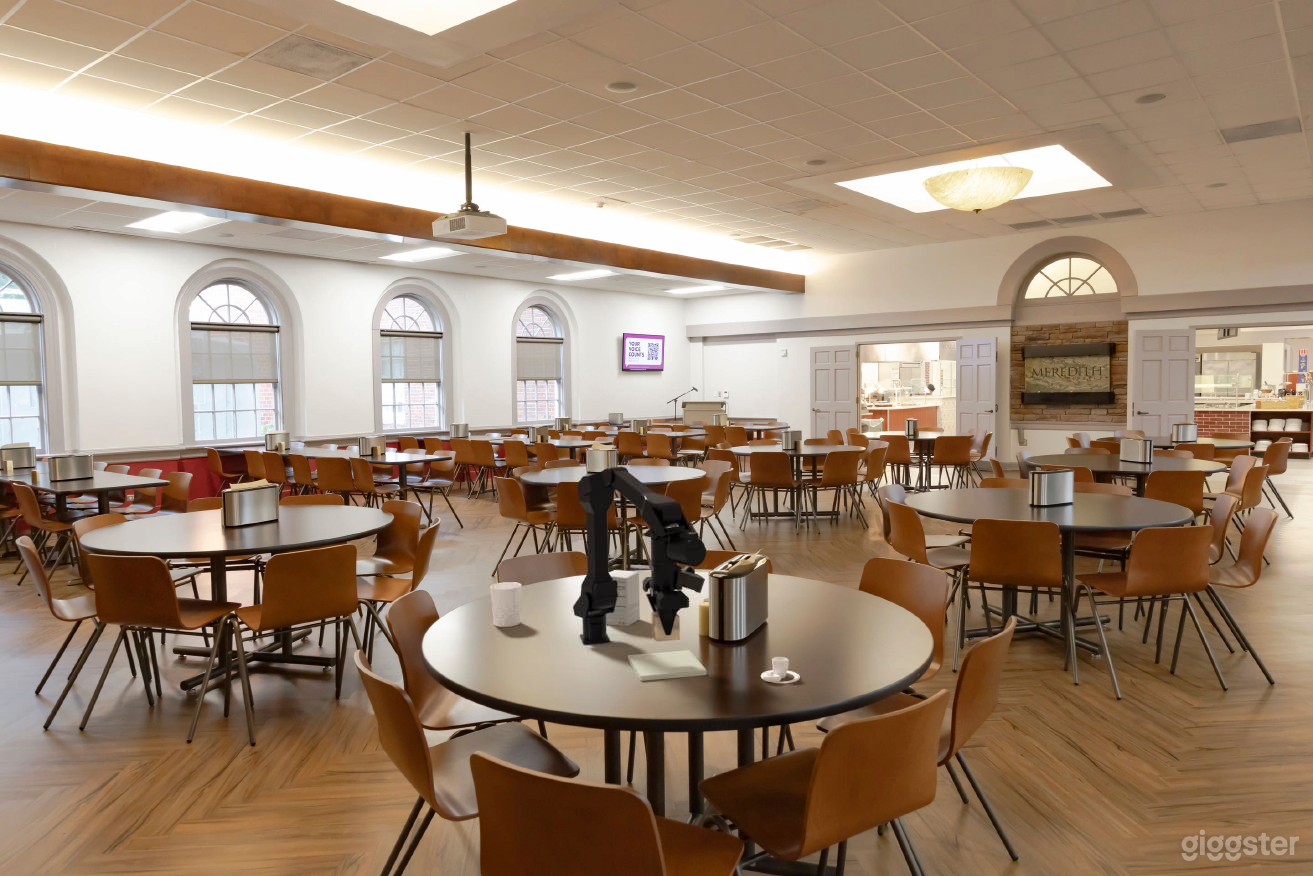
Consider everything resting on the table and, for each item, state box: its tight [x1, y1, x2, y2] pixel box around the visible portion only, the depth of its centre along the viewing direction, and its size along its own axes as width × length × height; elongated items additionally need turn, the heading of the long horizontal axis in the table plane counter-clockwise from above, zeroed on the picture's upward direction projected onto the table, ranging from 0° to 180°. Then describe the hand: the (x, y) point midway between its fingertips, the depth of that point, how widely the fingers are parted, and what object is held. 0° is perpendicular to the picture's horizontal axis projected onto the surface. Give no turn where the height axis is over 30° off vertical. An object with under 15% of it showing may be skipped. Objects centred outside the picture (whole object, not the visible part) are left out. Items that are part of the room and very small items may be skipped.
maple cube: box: [651, 611, 681, 642], centre depth 177 cm, size 5×5×5 cm
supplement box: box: [606, 569, 641, 627], centre depth 213 cm, size 7×7×13 cm
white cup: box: [490, 581, 522, 628], centre depth 213 cm, size 8×8×10 cm
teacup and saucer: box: [760, 656, 801, 684], centre depth 170 cm, size 9×8×4 cm
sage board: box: [627, 649, 707, 682], centre depth 177 cm, size 14×14×1 cm
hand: (665, 631), depth 177 cm, fingers closed on maple cube, 5 cm apart
